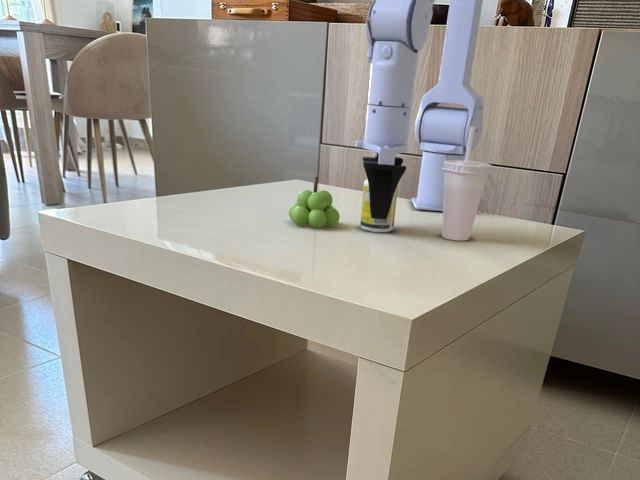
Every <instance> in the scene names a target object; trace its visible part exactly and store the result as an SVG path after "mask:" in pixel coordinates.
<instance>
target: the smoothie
mask: <svg viewBox="0 0 640 480" xmlns="http://www.w3.org/2000/svg"><path fill="white" fill-rule="evenodd" d="M474 129H475V127H470V132H469V138H468V145H467V151H466V157H465V160H445V161H444V164H443V169H444V170H445V174H444V200H443V211H442V227H441V228H442V232H441V236H442V238H444V239H447V240H451V241H459V242H460V241H468V240H470V236H471V234H472V230H473V226H474V224H475V220H476V216H477V213H478V210H479V208H480V207H479V206H480V204H481V199H482V196H483V193H484V189H485V186H486V184H487V179H488V176H489V175H490V174H491V173H492V167H493V165H492V164H490V163H487V162H483V161H475V160H470V158H471V147H472V141H473V135H474Z"/></svg>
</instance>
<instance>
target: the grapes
mask: <svg viewBox="0 0 640 480" xmlns="http://www.w3.org/2000/svg"><path fill="white" fill-rule="evenodd" d="M318 183H319V177H318V176H317V175H315V176H314V177H313V191H311V190H309V189H303V190H301V191H300V192H299V193H298V195H297V197H296V203H294V204H292V205H291V206H290V207H289V209H288V216H289V218H290V220H291V221H292V222H293V224H294V225H296V226H298V227H304V226H306V225H307V224H309V225H310V226H311V227H312V228H314V229H321V228H324V226H326V227H328V228H332V227H334V226H336V225H338V223H339V222H340V218H341V217H340V213H339V211H338V210H337V209H336V208H335V207H334V206H333V196H332V194H331V193H330V192H329V191H327V190H319V191H318Z"/></svg>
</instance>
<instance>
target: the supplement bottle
mask: <svg viewBox="0 0 640 480" xmlns="http://www.w3.org/2000/svg"><path fill="white" fill-rule="evenodd" d="M398 190H399V184H398V185H397V187H396V190H395V193H394V196H393V200H392V203H391V207H390V210H389V213H388V216H387V219H374V218H371V213H370V196H369V184H368V179H367V178H366V179H365V180H364V182H363V188H362V201H361V211H360V212H361V213H360V223H359V225H360V228H361V230H363V231H367V232H372V233H389V232H392V231H393V230H394V226H395V219H396V218H395V216H396V208H397V198H398Z"/></svg>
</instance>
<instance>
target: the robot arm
mask: <svg viewBox="0 0 640 480" xmlns="http://www.w3.org/2000/svg"><path fill="white" fill-rule="evenodd" d="M435 2H436V0H373V1H372V2H371V4H370V7H369V9H368V13H367V18H365V33H366V34H365V35H366V40H367V58H368V59H367V60H368V61H367V62H368V64H370V74H369V85H368V95H367V96H368V97H367V105H366V107H367V109H366V117H365V118H366V119H365V130H364V131H365V132H364V140H355V145H354V146H355V148H362V149H364V150H367V151H370V152H373V153H375V154H376V155H374V157H373V156H363V157H362V166H363V169H364V172H365V176H366V179H368V184H369V196H370V213H371V218H374V219H387V216H388V213H389V210H390V207H391V203H392V200H393V196H394V193H395V190H396V187H397V185H398V186H399V182H400V181H401V179H402V177H403V176H404V174H405V172H406V170H407V166H406V165H403V163H404V159H403V158H402V157H400V156H396V155H399V154H403V153H407V152H408V151H409V144H408V140H409V132H410V125H411V124H410V123H411V115H412V106H413V98H414V90H415V82H416V75H417V74H416V73H417V65H418V56H419V51H421V50H422V49H423V48H424V46H425V44H426V43H427V40H428V37H429V33H430V27H431V21H432V19H433V15H434V10H433V6H434V4H435ZM483 3H484V0H449V4H448V5H449V7H448V13H447V18H446V19H447V20H446V26H445V34H444V41H443V48H442V54H441V55H442V56H441V62H440V68H439V69H440V70H439V76H438V82H437V84H436V85H435V86H434V87H432V88H431V89H430V90H428V91H427V92H426V93H425V94H423V95H422V97H421V101H420V105H419V110H418V113H417V116H416V119H415V122H414V139H415V141H416V143H417V146H419V150H420V151H422V155H421V156H422V157H421V165H420V171H419V172H420V173H419V179H418V186H417V187H418V188H417V195H416V197H411V202H412V204H413V206H414V208H415V209H416V210H420V211H421V210H422V211H436V212H443V200H444V174H445V170H444V169H443V164H444V161H445V160H465V157H466V151H467V145H468V138H469V132H470V127H475V129H474V135H473V141H472V147H471V152H473V151H474V150H475V149H476V148H477V147H478V145H479V143H480V140H481V137H482V133H483V127H484V117H483V116H484V107H485V104H484V99H483V98H482V97H481V96H480V94H479V93H478V92H477V91H476V89H474V88H473V86H472V85H471V78H472V77H471V76H472V71H473V65H474V59H475V58H474V57H475V53H476V46H477V39H478V35H479V34H478V32H479V26H480V21H481V15H482V8H483ZM440 104H448V105H449V104H451V105H462V106H464V107H466V108H464V107H463V108H462V107H453V106H452V107H451V106H441V105H440ZM438 105H439V106H438Z"/></svg>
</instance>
